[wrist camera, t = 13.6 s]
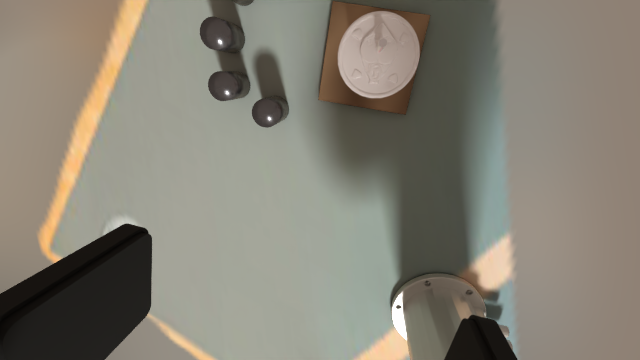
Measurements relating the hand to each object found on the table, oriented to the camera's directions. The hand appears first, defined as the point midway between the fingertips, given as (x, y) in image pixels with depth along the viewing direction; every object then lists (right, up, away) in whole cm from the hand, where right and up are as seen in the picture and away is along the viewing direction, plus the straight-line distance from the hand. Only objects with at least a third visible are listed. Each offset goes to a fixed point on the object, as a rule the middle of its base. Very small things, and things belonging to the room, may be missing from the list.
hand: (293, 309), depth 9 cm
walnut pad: (+6, +17, +24) cm, 30 cm away
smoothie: (+7, +17, +24) cm, 30 cm away
